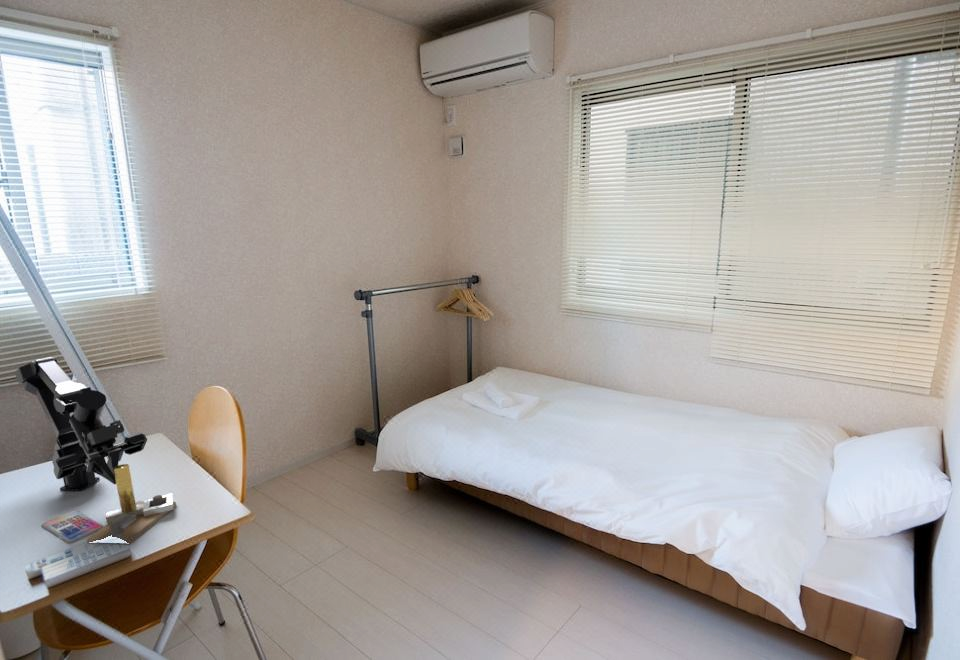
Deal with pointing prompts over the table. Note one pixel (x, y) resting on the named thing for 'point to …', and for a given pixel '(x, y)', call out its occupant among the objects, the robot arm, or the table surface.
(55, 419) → the robot arm
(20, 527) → the table surface
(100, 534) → the keeper board
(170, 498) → the link
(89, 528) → the smartphone
